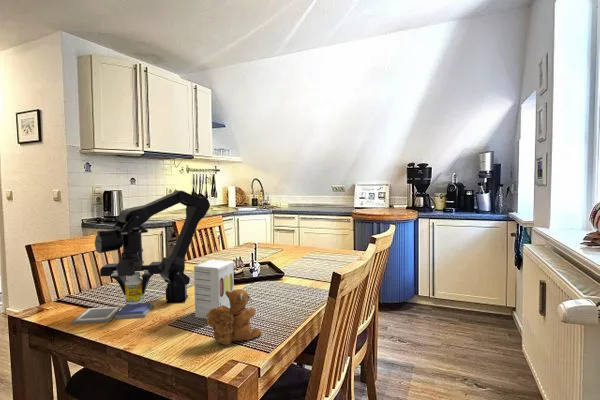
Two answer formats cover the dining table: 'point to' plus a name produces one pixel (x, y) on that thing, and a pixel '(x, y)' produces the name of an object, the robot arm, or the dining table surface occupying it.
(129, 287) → the supplement bottle
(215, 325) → the stuffed squirrel
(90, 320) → the marked board
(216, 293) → the supplement box
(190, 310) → the dining table surface
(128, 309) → the ink pad
